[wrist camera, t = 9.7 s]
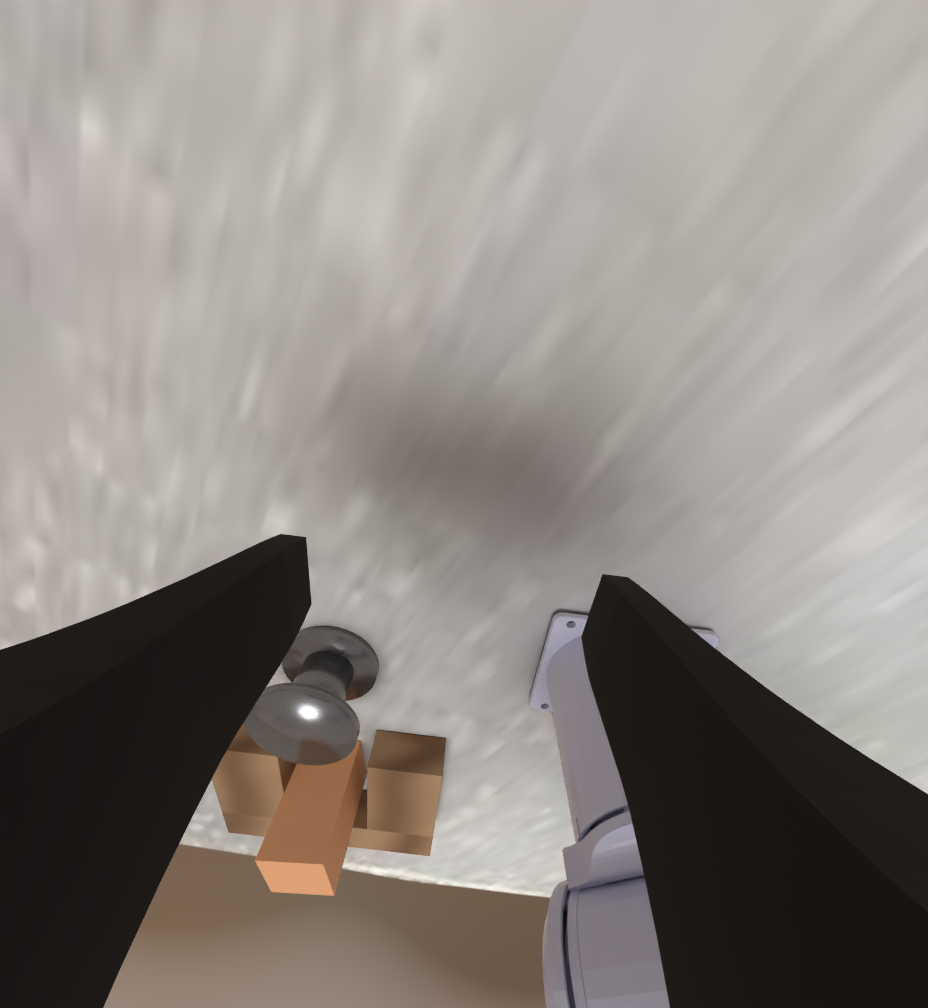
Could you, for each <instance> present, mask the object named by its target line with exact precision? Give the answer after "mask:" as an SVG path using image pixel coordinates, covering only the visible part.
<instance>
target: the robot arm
mask: <svg viewBox="0 0 928 1008" xmlns="http://www.w3.org/2000/svg"><path fill="white" fill-rule="evenodd" d="M310 606H311V593H310V581H309V569H308V556H307V544H306V537H300V536H292V535H284V534H280V535H277V536H275V537H272V538H270V539H267V540H265V541H263V542H261V543H259V544H256V545H254V546H252V547H250V548H248V549H246V550H244V551H242V552H240V553H237V554H235V555H233V556H231V557H229V558H227V559H225V560H223V561H221V562H219V563H216V564H214V565H212V566H210V567H208V568H206V569H204V570H202V571H200V572H198V573H195V574H193V575H191V576H189V577H187V578H185V579H182V580H180V581H178V582H175V583H173V584H171V585H169V586H166V587H164V588H162V589H160V590H157V591H155V592H153V593H150V594H148V595H146V596H144V597H141V598H139V599H137V600H134V601H132V602H130V603H128V604H125V605H123V606H120V607H118V608H115V609H113V610H110V611H108V612H105V613H103V614H100V615H98V616H95V617H92V618H90V619H87V620H84V621H82V622H79V623H76V624H74V625H71V626H68V627H66V628H63V629H60V630H57V631H55V632H52V633H49V634H47V635H44V636H41V637H38V638H35V639H32V640H29V641H26V642H23V643H20V644H17V645H14V646H11V647H8V648H5V649H2V650H0V1008H103V1007H104V1004H105V1002H106V1000H107V998H108V995H109V993H110V991H111V988H112V986H113V984H114V981H115V979H116V977H117V975H118V972H119V970H120V968H121V966H122V963H123V961H124V959H125V957H126V955H127V952H128V950H129V948H130V946H131V944H132V942H133V940H134V937H135V935H136V933H137V931H138V929H139V927H140V924H141V922H142V920H143V918H144V916H145V914H146V912H147V909H148V907H149V905H150V903H151V901H152V899H153V897H154V894H155V892H156V890H157V888H158V886H159V884H160V881H161V879H162V877H163V875H164V873H165V871H166V869H167V867H168V865H169V863H170V861H171V859H172V857H173V855H174V853H175V851H176V848H177V847H178V845H179V843H180V841H181V839H182V837H183V834H184V832H185V830H186V828H187V826H188V824H189V822H190V820H191V818H192V816H193V814H194V812H195V810H196V808H197V806H198V804H199V802H200V801H201V799H202V797H203V795H204V793H205V791H206V789H207V787H208V785H209V783H210V781H211V779H212V777H213V775H214V773H215V771H216V769H217V767H218V766H219V764H220V762H221V760H222V758H223V756H224V755H225V753H226V751H227V749H228V748H229V746H230V744H231V742H232V741H233V739H234V737H235V736H236V734H237V732H238V731H239V729H240V728H241V726H242V724H243V723H244V721H245V720H246V718H247V716H248V715H249V713H250V712H251V710H252V708H253V707H254V705H255V704H256V702H257V701H258V699H259V697H260V696H261V694H262V693H263V691H264V689H265V688H266V686H267V685H268V683H269V681H270V680H271V678H272V677H273V675H274V674H275V672H276V670H277V669H278V667H279V665H280V664H281V662H282V661H283V659H284V657H285V656H286V654H287V653H288V651H289V649H290V648H291V646H292V644H293V643H294V641H295V639H296V637H297V634H298V632H299V630H300V628H301V626H302V624H303V622H304V619H305V617H306V615H307V613H308V610H309V608H310ZM569 621H573V622H572V623H567V622H569ZM719 641H720V639H719V637H718V635H717V634H716V633H715V632H713V631H709V630H701V629H692V628H690V627H688V626H687V625H686V624H685V623H684V622H682V621H681V620H680V619H679V618H678V617H676V616H675V615H674V614H673V613H672V612H670V611H669V610H668V609H667V608H666V607H664V606H663V605H662V604H661V603H660V602H659V601H657V600H656V599H655V598H654V597H653V596H651V595H650V594H649V593H648V592H646V591H645V590H644V589H643V588H641V587H640V586H639V585H638V584H636V583H635V582H634V581H632V580H631V579H629V578H628V577H621V576H613V575H605V574H603V575H602V578H601V581H600V583H599V586H598V589H597V592H596V595H595V598H594V601H593V604H592V607H591V610H590V613H589V616H587V615H579V614H571V613H557V614H555V615H554V616H553V618H552V621H551V625H550V628H549V632H548V635H547V639H546V642H545V646H544V649H543V653H542V656H541V660H540V663H539V666H538V670H537V673H536V677H535V680H534V684H533V687H532V691H531V694H530V698H529V705H530V707H531V708H532V709H535V710H542V711H550V712H552V714H553V720H554V725H555V731H556V736H557V742H558V747H559V753H560V758H561V764H562V769H563V775H564V780H565V786H566V791H567V797H568V802H569V808H570V813H571V819H572V824H573V830H574V835H575V841H576V844H574V845H572V846H569V847H565V848H564V849H563V857H564V864H565V870H566V877H567V880H565V881H563V882H560V883H559V884H558V885H557V886H556V887H555V888H554V891H553V893H552V896H551V899H550V904H549V908H548V914H547V917H546V921H545V927H544V935H543V977H544V988H545V989H544V990H545V998H546V1007H547V1008H928V794H927V793H925V792H923V791H922V790H920V789H918V788H917V787H915V786H914V785H912V784H910V783H909V782H907V781H906V780H904V779H902V778H901V777H899V776H897V775H896V774H894V773H893V772H891V771H889V770H888V769H886V768H885V767H883V766H881V765H880V764H878V763H876V762H875V761H873V760H872V759H870V758H868V757H867V756H865V755H864V754H862V753H861V752H859V751H858V750H856V749H855V748H853V747H851V746H850V745H848V744H847V743H845V742H844V741H842V740H841V739H839V738H838V737H836V736H835V735H833V734H832V733H830V732H829V731H827V730H826V729H824V728H823V727H821V726H820V725H819V724H817V723H816V722H814V721H813V720H811V719H810V718H808V717H807V716H805V715H804V714H803V713H801V712H800V711H798V710H797V709H795V708H794V707H792V706H791V705H789V704H788V703H787V702H785V701H784V700H782V699H781V698H780V697H778V696H777V695H775V694H774V693H773V692H771V691H770V690H769V689H767V688H766V687H764V686H763V685H762V684H760V683H759V682H758V681H757V680H755V679H754V678H753V677H751V676H750V675H749V674H747V673H746V672H745V671H743V670H742V669H741V668H739V667H738V666H737V665H736V664H734V663H733V662H732V661H730V660H729V659H728V658H727V657H725V656H724V655H723V654H721V653H720V652H719V651H718V650H716V647H717V645H718V643H719Z"/></svg>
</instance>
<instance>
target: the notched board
mask: <svg viewBox="0 0 928 1008" xmlns="http://www.w3.org/2000/svg"><path fill="white" fill-rule="evenodd" d="M445 741H446V738H438V737H430V736H421V735H413V734H405V733H397V732H388V731H380V730H377V733H376V737H375V741H374V744H373V748H372V752H371V756H370V759H369V763H368V767H367V791H366V790H362V793H361V797H360V801H359V805H358V808H357V812H356V816H355V820H354V824H353V827H352V831H351V835H350V839H349V843H348V847H357V848H365V849H374V850H382V851H391V852H399V853H408V854H416V855H425V856H430V852H431V845H432V839H433V832H434V826H435V820H436V813H437V807H438V801H439V794H440V788H441V781H442V774H443V763H444V752H445ZM296 764H297V763H293V762H289V761H286V760H283V759H280V758H278V757H276V756H274V755H272V754H270V753H268V752H266V751H265V750H264V749H262V748H261V747H260V746H258V745H257V744H256V743H255V742H254V741H253V740H252V739H251V737H250V736H249V734H248V732H247V730H246V728H245V724H244V723H243V724H242V726H241V728H240V729H239V731H238V732H237V734H236V736H235V737H234V739H233V741H232V742H231V744H230V746H229V748H228V749H227V751H226V753H225V755H224V756H223V758H222V760H221V762H220V764H219V766H218V767H217V769H216V771H215V773H214V775H213V777H212V781H213V784H214V788H215V791H216V794H217V797H218V800H219V803H220V807H221V810H222V813H223V816H224V819H225V822H226V826H227V829H228V832H230V833H238V834H247V835H255V836H264V837H265V836H266V834H267V832H268V829H269V827H270V825H271V822H272V820H273V818H274V815H275V813H276V811H277V808H278V806H279V804H280V801H281V799H282V797H283V794H284V792H285V790H286V787H287V785H288V783H289V780H290V778H291V776H292V773H293V771H294V769H295V766H296Z"/></svg>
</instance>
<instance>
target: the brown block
mask: <svg viewBox="0 0 928 1008" xmlns="http://www.w3.org/2000/svg"><path fill="white" fill-rule="evenodd" d="M366 774H367V770H366V765H365V760H364V756H363V751H362V746H361V741H360V740H357V741H356V745H355V747H354V749H353V751H352V752H351V753H350V754H349V755H348V756H347V757H346V758H344V759H342V760H340V761H338V762H335V763H332V764H326V765H303V764H296V766H295V769H294V771H293V773H292V776H291V778H290V780H289V783H288V785H287V787H286V790H285V792H284V794H283V797H282V799H281V801H280V804H279V806H278V808H277V811H276V813H275V815H274V818H273V820H272V822H271V825H270V827H269V829H268V832H267V834H266V836H265V839H264V841H263V843H262V845H261V848H260V850H259V852H258V855H257V857H256V859H255V861H256V863H257V865H258V867H259V869H260V871H261V873H262V874H263V876H264V879H265V880H266V882H267V884H268V886H269V888H270V890H271V892H283V893H299V894H316V895H331V896H335V892H336V888H337V884H338V880H339V877H340V873H341V869H342V865H343V862H344V858H345V854H346V850H347V846H348V843H349V839H350V835H351V831H352V827H353V824H354V820H355V816H356V812H357V808H358V805H359V801H360V797H361V793H362V789H363V786H364V782H365V778H366Z"/></svg>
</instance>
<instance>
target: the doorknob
mask: <svg viewBox="0 0 928 1008" xmlns="http://www.w3.org/2000/svg"><path fill="white" fill-rule="evenodd" d="M282 666H283V669H284V672H285V674H286V675H287V677H288V678H289V680H290V681H291V682H292V683H282V684H277V685H272V686H270V687H267V688H265V689H264V691H263V693H262V694H261V696H260V697H259V699H258V701H257V702H256V704H255V705H254V707H253V708H252V710H251V712H250V713H249V715H248V716H247V718H246V720H245V721H244V724H245V728H246V730H247V732H248V734H249V736H250V737H251V739H252V740H253V741H254V742H255V743H256V744H257V745H258V746H260V747H261V748H262V749H264V750H265V751H266V752H268V753H270V754H272V755H274V756H276V757H278V758H280V759H283V760H286V761H289V762H293V763H297V764H303V765H326V764H332V763H335V762H338V761H340V760H342V759H344V758H346V757H347V756H348V755H349V754H350V753H351V752H352V751H353V749H354V747H355V745H356V741H357V738H358V735H359V731H360V724H359V720H358V717H357V715H356V713H355V712H354V711H353V709H352V708H351V707H350V706H349V705H348V704H347V703H346V702H345V701H347V700H352V699H356V698H359V697H361V696H363V695H364V694H366V693H367V692H368V691H369V690H370V689H371V688H372V687H373V685H374V683H375V680H376V677H377V673H378V668H379V665H378V659H377V657H376V654H375V653H374V651H373V649H372V648H371V647H370V646H369V645H368V644H367V643H366V642H365V641H364V640H363V639H361V638H360V637H358V636H357V635H355V634H353V633H351V632H349V631H346V630H344V629H340V628H336V627H329V626H317V627H311V628H307V629H304V630H302V631H300V632H298V634H297V637H296V639H295V641H294V643H293V644H292V646H291V648H290V649H289V651H288V653H287V654H286V656H285V657H284V659H283V661H282Z"/></svg>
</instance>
